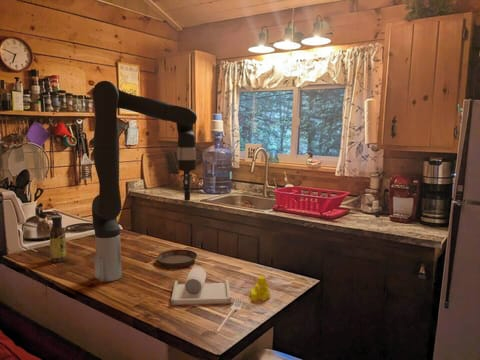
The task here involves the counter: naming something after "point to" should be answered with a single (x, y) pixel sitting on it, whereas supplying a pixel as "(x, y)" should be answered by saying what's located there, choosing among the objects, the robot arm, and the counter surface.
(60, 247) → the sauce bottle
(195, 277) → the can
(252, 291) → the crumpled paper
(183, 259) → the plant saucer
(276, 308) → the counter surface
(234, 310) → the fork
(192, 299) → the tray
